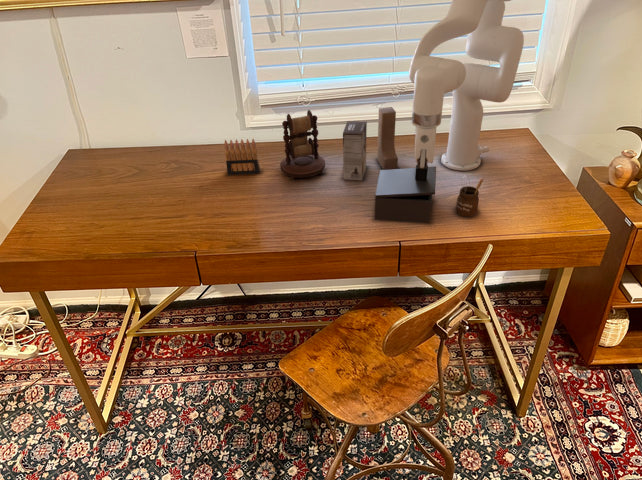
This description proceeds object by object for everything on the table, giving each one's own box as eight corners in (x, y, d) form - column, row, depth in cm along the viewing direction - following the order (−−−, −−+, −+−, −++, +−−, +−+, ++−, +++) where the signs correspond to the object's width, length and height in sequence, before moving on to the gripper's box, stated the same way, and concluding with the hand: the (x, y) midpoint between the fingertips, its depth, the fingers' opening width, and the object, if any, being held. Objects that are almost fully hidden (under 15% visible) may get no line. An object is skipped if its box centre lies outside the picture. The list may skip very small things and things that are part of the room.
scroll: (316, 156, 188) (314, 99, 175) (331, 176, 177) (330, 117, 164) (275, 164, 184) (270, 107, 172) (288, 185, 174) (283, 126, 161)
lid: (436, 168, 158) (436, 166, 158) (435, 194, 147) (435, 192, 147) (380, 172, 163) (380, 170, 162) (375, 197, 152) (375, 195, 151)
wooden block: (397, 170, 178) (400, 117, 166) (384, 171, 177) (386, 119, 166) (389, 157, 185) (392, 106, 173) (376, 159, 184) (378, 107, 173)
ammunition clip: (227, 174, 181) (222, 141, 173) (228, 172, 182) (222, 138, 174) (259, 173, 180) (255, 139, 173) (260, 170, 182) (256, 137, 174)
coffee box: (347, 165, 182) (346, 120, 171) (366, 167, 180) (367, 120, 170) (342, 179, 175) (342, 132, 164) (362, 181, 173) (363, 133, 163)
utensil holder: (462, 203, 160) (468, 167, 153) (481, 211, 157) (488, 174, 149) (451, 212, 157) (456, 175, 150) (470, 220, 154) (476, 182, 146)
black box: (430, 196, 164) (432, 175, 160) (429, 223, 154) (431, 201, 149) (379, 193, 167) (380, 172, 163) (374, 219, 156) (375, 198, 152)
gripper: (440, 130, 135) (433, 194, 147) (441, 106, 147) (435, 167, 158) (410, 128, 137) (405, 192, 148) (413, 105, 148) (408, 166, 160)
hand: (420, 179), depth 153 cm, fingers closed
